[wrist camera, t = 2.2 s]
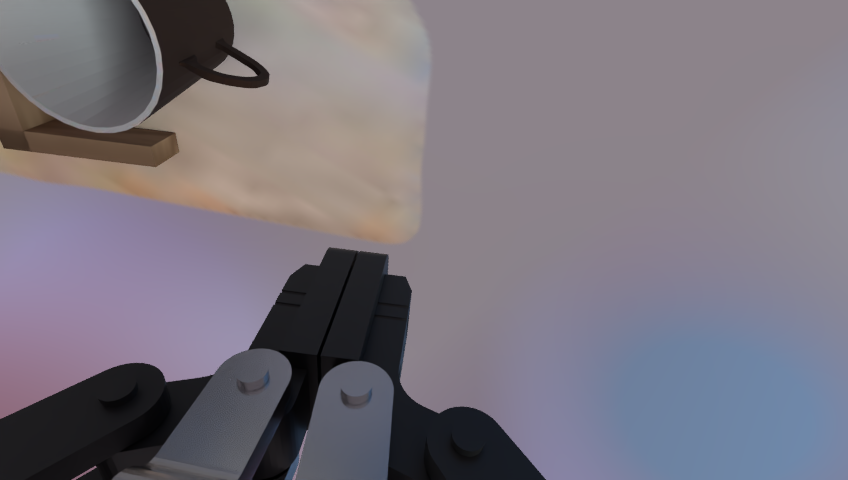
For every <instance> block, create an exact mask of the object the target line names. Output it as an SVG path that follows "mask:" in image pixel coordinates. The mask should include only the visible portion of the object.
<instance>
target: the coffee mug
mask: <svg viewBox="0 0 848 480" xmlns="http://www.w3.org/2000/svg"><path fill="white" fill-rule="evenodd" d="M233 39H234V24H233V19H232V15H231V12H230V9H229V7H228V4H227V2H226V0H0V71H1V72H2V73H3V74H4V76H5V77H6V78H7V79H8V80H9V81H10V83H11V84H12V85H13V86H14V87H15V88H16V89H17V90H18V91H19V92H20V93H21V94H22V95H23V96H25V97H26V98H27V99H28V100H29V101H30V102H31V103H33V104H34V105H36V106H37V107H38V108H40V109H41V110H42V111H44V112H45V113H47V114H48V115H50V116H52V117H54V118H56V119H57V120H59V121H61V122H63V123H65V124H68V125H71V126H73V127H76V128H78V129H82V130H86V131H91V132H96V133H116V132H121V131H126V130H129V129H131V128H133V127H135V126H137V125H139V124H140V123H142V122H143V121H144V120H146V119H147V118H148V117H150V116H151V115H152V114H154V113H155V112H157V111H158V110H159V109H161V108H162V107H163V106H165V105H166V104H167V103H169V102H170V101H171V100H173V99H174V98H175V97H177V96H178V95H179V94H181V93H182V92H183V91H185V90H186V89H187V88H189V87H190V86H191V85H193V84H194V83H195V82H197V81H198V80H199V79H201V78H204V79H206V80H209V81H212V82H216V83H220V84H225V85H229V86H235V87H243V88H258V87H262V86H266V85H267V84H268V83H269V73H268V71H267V70H266V69H265V68H264V67H263V66H262V65H260V64H259V63H258V62H257V61H255V60H254V59H252V58H250V57H249V56H247V55H246V54H244V53H242V52H241V51H239V50H237V49H235V48H234V47H232V45H233ZM228 55H230V56H232V57H233V58H235V59H237V60H238V61H240V62H241V63H243V64H245V65H246V66H248V67H249V68H251V69H252V70H253V71H254V72H255V73H256V74H257V75H258V76H255V77H240V76H233V75H227V74H222V73H219V72H216V71H214V70H213V69H214V68H216V67H217V66H218V65H219V64H221V63H222V62H223V61H224V60H225V59H226V57H227V56H228Z"/></svg>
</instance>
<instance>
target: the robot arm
mask: <svg viewBox="0 0 848 480" xmlns="http://www.w3.org/2000/svg"><path fill="white" fill-rule="evenodd" d="M388 259H389V258H388V255H387V254H379V253H371V252H363V251H360V252H358V251H354V250H346V249H338V248H328V250H327V251H326V254H325V256H324V258H323V260H322V262H321V264H320V266H316V265H308V264H305V265H304V266H302V267H301V268H300V269H298V270H297V271H296V272H294V273H293V274H292V275H291V276H290V277H289V279H288V280H287V282H286V284H285V286H284V287H283V289H282V293H280V295H279V296H278V298H277V300H276V303H275V305H273V307H272V309H271V311H270V312H269V314H268V316H267V318H266V319H265V321H264V323H263V325H262V327H261V328H260V330H259V332H258V334H257V335H256V337H255V339H254V341H253V342H252V344H251V346H250V348H249V350H247V351H244V352H241V353H238V354H236V355H234V356H232V357H231V358H229V359H228V360H226V361H225V362H224V363H223V364H222V365H221V366H220V367H219V369H218V370H217V371H216V372H215V374H214V375H210V376H207V377H202V378H195V379H188V380H180V381H173V382H166V381H165V378H164V376H163V374H162V372H161V371H160V370H159V369H158V368H156V367H155V366H152V365H150V364H144V363H130V364H124V365H120V366H117V367H113V368H111V369H108V370H106V371H104V372H101V373H99V374H97V375H95V376H93V377H90V378H88V379H86V380H84V381H82V382H80V383H77V384H75V385H73V386H71V387H69V388H67V389H65V390H62V391H60V392H58V393H56V394H54V395H52V396H49V397H47V398H45V399H43V400H41V401H39V402H36V403H34V404H32V405H30V406H28V407H26V408H24V409H21V410H19V411H17V412H15V413H13V414H11V415H9V416H6V417H4V418H2V419H0V480H71V479H73V478H75V477H76V476H78V475H80V474H82V473H83V472H85V471H87V470H89V469H90V468H92V467H94V466H96V467H97V468H95V469H94V470H92V471H90V472H89V473H87V474H85V475H83V476H82V477H80V478H78V479H76V480H292V479H293V476H294V474H295V472H296V469H297V466H298V463H299V451H300V448H301V445H302V442H303V439H304V436H305V433H306V430H308V432H307V436H306V440H305V444H304V448H303V452H302V456H301V460H300V464H299V468H298V472H297V475H296V479H295V480H546V479H545V478H544V477H543V476H542V475H541V473H540V472H539V471H538V470H537V469H536V468H535V466H534V465H533V464H532V463H531V462H530V461H529V460H528V458H527V457H526V456H525V455H524V454H523V453H522V451H521V450H520V449H519V448H518V447H517V446H516V444H515V443H514V442H513V441H512V440H511V439H510V438H509V436H508V435H507V434H506V433H505V432H504V430H503V429H502V428H501V427H500V426H499V425H498V423H496V421H495V420H494V419H493V418H491V417H490V416H488V415H487V414H485V413H484V412H482V411H480V410H477V409H474V408H469V407H454V408H449V409H447V410H445V411H443V412H441V413H440V414H439V413H436V412H434V411H432V410H430V409H428V408H425V407H423V406H422V405H420V404H418V403H416V402H415V401H414V400H412V399H411V398H410V397H409V396H408V395H407V394H406V392H405V391H404V389H403V388H402V386H401V383H400V377H401V370H402V363H403V357H404V351H405V344H406V338H407V330H408V321H409V311H410V302H411V293H412V290H411V288H410V286H409V284H408V281H407V279H406V277H403V276H395V275H388Z"/></svg>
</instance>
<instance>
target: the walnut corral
mask: <svg viewBox="0 0 848 480" xmlns="http://www.w3.org/2000/svg"><path fill="white" fill-rule="evenodd" d="M0 140H1V142H2V145H3V147H4V148H6V149H14V150H22V151H31V152H39V153H47V154H55V155H63V156H71V157H79V158H87V159H95V160H103V161H111V162H119V163H127V164H135V165H143V166H151V167H157V166H158V165H160V164H161V163H163V162H164V161H166V160H168V159H169V158H171V157H172V156H174V155H175V154H177V153H178V152H179V149H178V144H177V139H176V134H175V133H172V132H163V131H155V130H147V129H139V128H131V129H129V130H126V131H121V132H116V133H96V132H91V131H86V130H82V129H78V128H76V127H73V126H71V125H68V124H65V123H63V122H61V121H59V120H57V119H56V118H54V117H52V116H50V115H48V114H47V113H45V112H44V111H42V110H41V109H40V108H38V107H37V106H36V105H34V104H33V103H31V102H30V101H29V100H28V99H27V98H26V97H25V96H23V95H22V94H21V93H20V92H19V91H18V90H17V89H16V88H15V87H14V86H13V85H12V84H11V83H10V81H9V80H8V79H7V78H6V77H5V76H4V74H3V73H2V72H1V71H0Z"/></svg>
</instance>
